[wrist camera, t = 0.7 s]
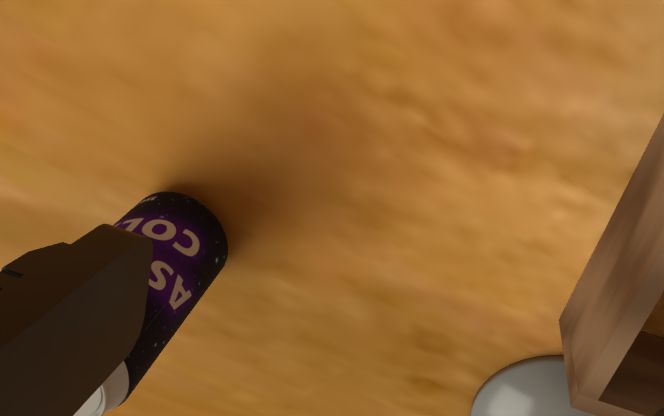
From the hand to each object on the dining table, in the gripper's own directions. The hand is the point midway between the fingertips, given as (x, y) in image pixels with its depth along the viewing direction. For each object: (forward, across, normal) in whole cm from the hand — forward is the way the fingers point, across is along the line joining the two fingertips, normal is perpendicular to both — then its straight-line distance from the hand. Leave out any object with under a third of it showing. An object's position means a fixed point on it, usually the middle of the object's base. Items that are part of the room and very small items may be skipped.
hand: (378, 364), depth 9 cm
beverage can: (+21, +11, +10) cm, 26 cm away
